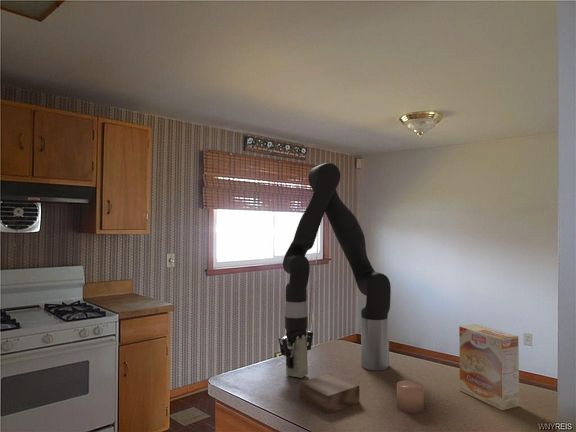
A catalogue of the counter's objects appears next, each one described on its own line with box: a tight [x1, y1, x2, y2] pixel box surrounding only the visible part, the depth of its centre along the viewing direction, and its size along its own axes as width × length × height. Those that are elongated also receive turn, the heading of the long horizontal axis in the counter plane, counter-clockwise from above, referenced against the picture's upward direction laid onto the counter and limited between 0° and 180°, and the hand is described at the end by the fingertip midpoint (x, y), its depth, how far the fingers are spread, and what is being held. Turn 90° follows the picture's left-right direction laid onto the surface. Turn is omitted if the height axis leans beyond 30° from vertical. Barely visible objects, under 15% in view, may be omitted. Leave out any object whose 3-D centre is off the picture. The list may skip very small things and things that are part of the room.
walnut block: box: [299, 373, 360, 415], centre depth 117 cm, size 12×12×5 cm
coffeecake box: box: [458, 323, 520, 411], centre depth 119 cm, size 15×7×20 cm, turn 23°
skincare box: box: [285, 337, 309, 379], centre depth 136 cm, size 6×4×12 cm
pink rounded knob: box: [396, 380, 425, 414], centre depth 113 cm, size 7×7×6 cm
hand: (296, 365), depth 136 cm, fingers closed on skincare box, 5 cm apart
